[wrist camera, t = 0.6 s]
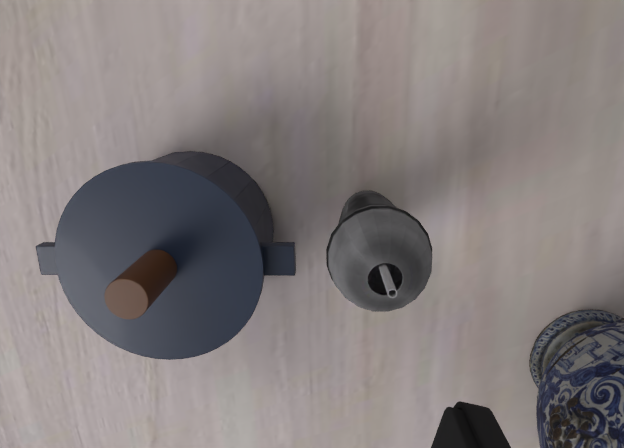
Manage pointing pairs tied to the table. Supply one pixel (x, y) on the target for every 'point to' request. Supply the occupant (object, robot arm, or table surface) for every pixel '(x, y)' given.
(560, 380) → the decorative vase
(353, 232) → the beverage cup
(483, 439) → the robot arm
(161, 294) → the lid
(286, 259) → the pot
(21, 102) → the table surface
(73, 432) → the table surface
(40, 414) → the table surface
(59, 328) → the table surface
